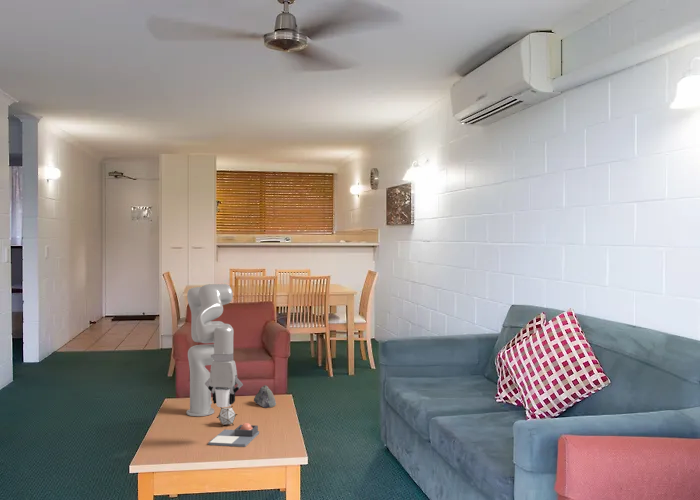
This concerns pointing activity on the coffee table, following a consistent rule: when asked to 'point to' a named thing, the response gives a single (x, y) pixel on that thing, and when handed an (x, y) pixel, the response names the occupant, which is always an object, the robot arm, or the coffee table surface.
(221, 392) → the shot glass
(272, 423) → the coffee table surface
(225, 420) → the game die
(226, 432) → the board
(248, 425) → the dome
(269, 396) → the mineral rock
